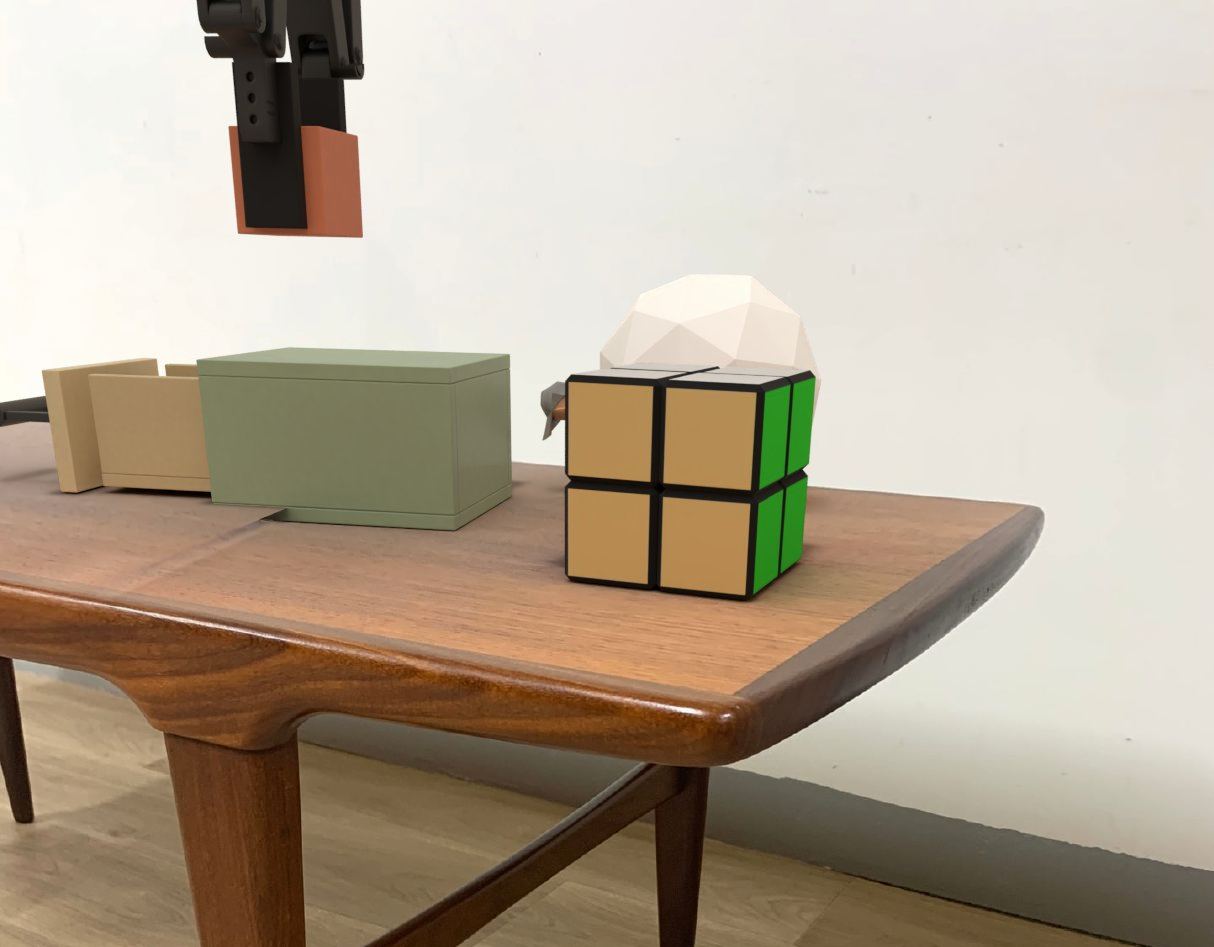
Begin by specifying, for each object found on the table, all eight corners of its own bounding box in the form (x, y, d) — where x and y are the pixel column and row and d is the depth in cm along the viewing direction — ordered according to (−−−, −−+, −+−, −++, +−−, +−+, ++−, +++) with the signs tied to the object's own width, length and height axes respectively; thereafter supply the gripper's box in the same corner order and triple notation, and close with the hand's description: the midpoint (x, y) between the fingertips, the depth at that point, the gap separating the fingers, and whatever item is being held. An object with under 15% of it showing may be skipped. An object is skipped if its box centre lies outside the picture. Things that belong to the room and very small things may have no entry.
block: (237, 233, 58) (227, 125, 56) (279, 236, 62) (272, 135, 60) (326, 235, 57) (319, 126, 55) (363, 238, 61) (358, 135, 59)
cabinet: (213, 517, 78) (195, 359, 74) (299, 485, 89) (288, 347, 86) (455, 531, 75) (449, 367, 71) (512, 496, 87) (510, 354, 83)
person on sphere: (842, 443, 91) (583, 463, 97) (824, 223, 82) (539, 261, 88) (817, 540, 81) (529, 555, 87) (794, 301, 71) (472, 337, 77)
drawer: (-34, 486, 81) (-56, 366, 78) (71, 462, 92) (54, 355, 89) (272, 503, 77) (260, 377, 74) (345, 475, 88) (337, 364, 85)
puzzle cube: (633, 545, 72) (638, 361, 68) (803, 562, 69) (818, 370, 65) (561, 581, 64) (561, 374, 60) (750, 603, 60) (764, 384, 56)
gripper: (240, -554, 41) (294, 226, 51) (421, -329, 57) (437, 235, 66) (36, -534, 43) (126, 222, 52) (268, -319, 58) (305, 232, 68)
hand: (300, 228), depth 59 cm, fingers closed on block, 4 cm apart
